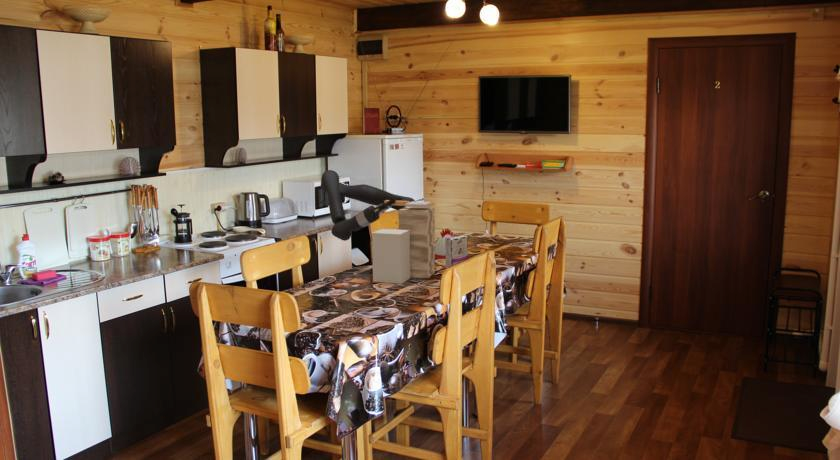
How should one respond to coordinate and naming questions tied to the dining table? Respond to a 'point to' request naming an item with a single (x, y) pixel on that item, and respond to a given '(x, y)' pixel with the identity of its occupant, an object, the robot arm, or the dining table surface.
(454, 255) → the candy bar box
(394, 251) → the grey upright block
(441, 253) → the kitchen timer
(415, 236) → the tall stand
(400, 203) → the turner
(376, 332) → the dining table surface
